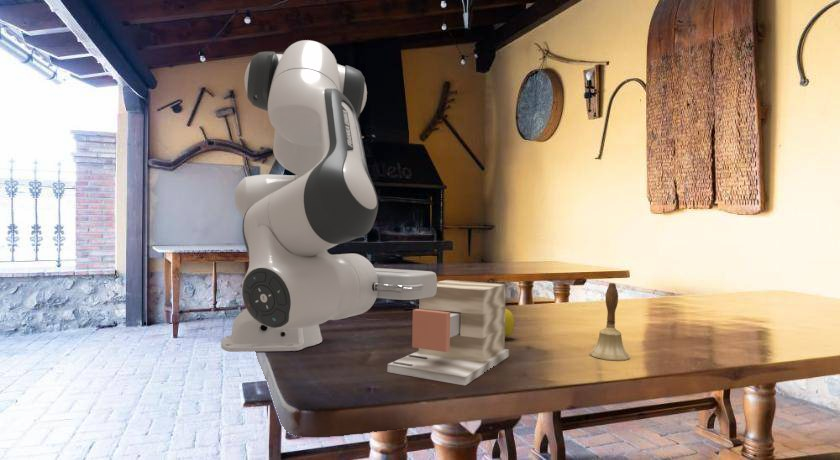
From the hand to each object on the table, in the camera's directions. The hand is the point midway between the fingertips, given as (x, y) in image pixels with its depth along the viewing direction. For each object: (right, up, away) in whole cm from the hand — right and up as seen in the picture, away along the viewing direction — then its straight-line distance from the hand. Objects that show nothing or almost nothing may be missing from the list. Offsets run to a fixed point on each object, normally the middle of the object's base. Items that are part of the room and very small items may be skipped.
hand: (396, 277), depth 86 cm
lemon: (+24, -19, +44) cm, 53 cm away
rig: (+10, -19, +20) cm, 29 cm away
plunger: (+8, -14, +16) cm, 23 cm away
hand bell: (+45, -20, +29) cm, 57 cm away
